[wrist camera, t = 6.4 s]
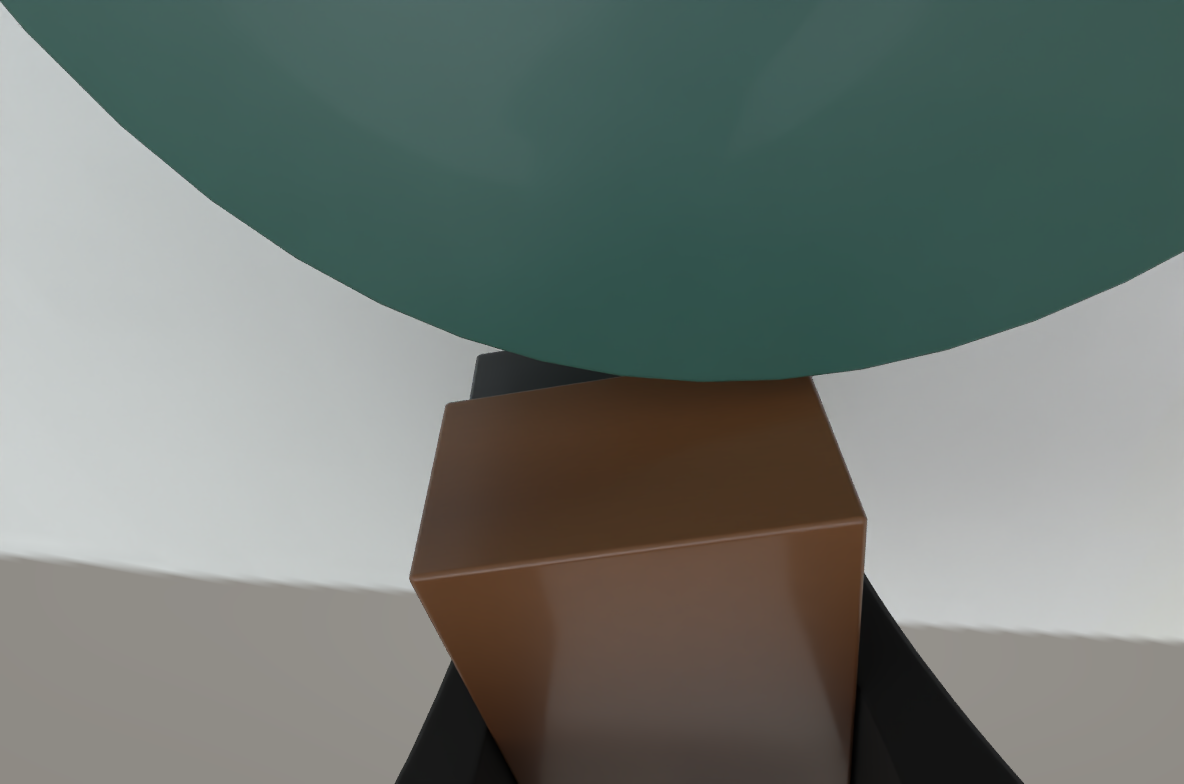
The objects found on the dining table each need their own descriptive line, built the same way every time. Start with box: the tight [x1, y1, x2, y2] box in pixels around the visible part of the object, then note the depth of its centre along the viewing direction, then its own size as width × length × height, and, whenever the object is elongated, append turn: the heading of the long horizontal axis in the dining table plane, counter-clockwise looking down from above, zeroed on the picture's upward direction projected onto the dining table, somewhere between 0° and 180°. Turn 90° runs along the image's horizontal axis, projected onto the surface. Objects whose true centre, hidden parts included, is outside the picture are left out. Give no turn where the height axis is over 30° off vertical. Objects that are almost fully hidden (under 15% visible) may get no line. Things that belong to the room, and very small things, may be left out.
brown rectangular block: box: [409, 351, 867, 784], centre depth 11 cm, size 9×4×4 cm, turn 10°
